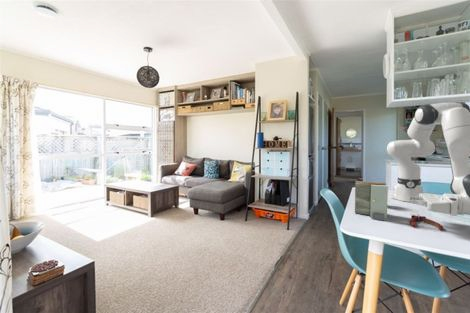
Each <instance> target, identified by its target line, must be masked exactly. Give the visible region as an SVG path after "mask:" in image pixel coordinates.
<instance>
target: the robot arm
mask: <svg viewBox="0 0 470 313" xmlns="http://www.w3.org/2000/svg"><path fill="white" fill-rule="evenodd" d="M438 125H439V126H440V125H441V129H442V133H443V138H444V141H445V144H446V146H447V147H446V148H447V152H448V155H449V160H450V168H451V173H452V180H451V182H450V186H449V189H450V191H451V193H443V194H442V195H438V194H434V193H433V194H431V193H425V188H424V187H423V186H422V185H421V184H422V179H421V170H422V169H421V166H420V165H419V164H417V163H416V162H413V161H412V158H423V157H428V156H431V155H433V154H434V152H435V151H436V145H435V144H434V142H433V141H432V140H431V139H430V137H431V136H432V133H433V131H434V129H435V127H436V126H438ZM406 131H407V135H408V137H409V138H411V139H400V140H399V139H397V140H393V141H390V142H389V143H388V144H387V146H386V152H387V154H388V155H389V156H390V157H391V158H393V159H394V160H395V162H396V164H397V167H398V177H397V184H396V185H395V186H394V187H393V188H392V189H393V193H392V194H391V196H390V199H393V200H396V201H400V202H401V201H402V202H408V203H411V204H412V205H417V206H422V207H423V206H424V207H425V208H426V209H427V211H429V212H434V213H437V214H438V213H439V214H445V215H447V214H448V215H450V216H451V217H457V216H458V215H463V216H464V215H468V216H470V106H469V104H467V103H465V102H439V103H431V104H422V105H420V106H419V107H417V109H416V110H415V112H414V116H413V118H412V120H411V122H410V125H409V126H408V128H407V130H406Z"/></svg>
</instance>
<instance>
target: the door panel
mask: <svg viewBox="0 0 470 313" xmlns="http://www.w3.org/2000/svg"><path fill="white" fill-rule="evenodd" d="M388 188H389V187H388V185H386V186H384V185H371V214H370V215H369V216H370V217H369V218H370V219H372V213H379V214H384V221H388V200H389V199H388V196H389V195H388V192H389V189H388Z"/></svg>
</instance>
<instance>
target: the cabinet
mask: <svg viewBox="0 0 470 313" xmlns="http://www.w3.org/2000/svg"><path fill="white" fill-rule="evenodd" d="M354 184H355V185H354V186H355V187H354V190H355V191H354V213H355V214H359V215H360V214H361V215H367V216H370V214H371V185H384V186H387V183H386V182H381V181H379V182H378V181H365V180H355V183H354Z"/></svg>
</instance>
